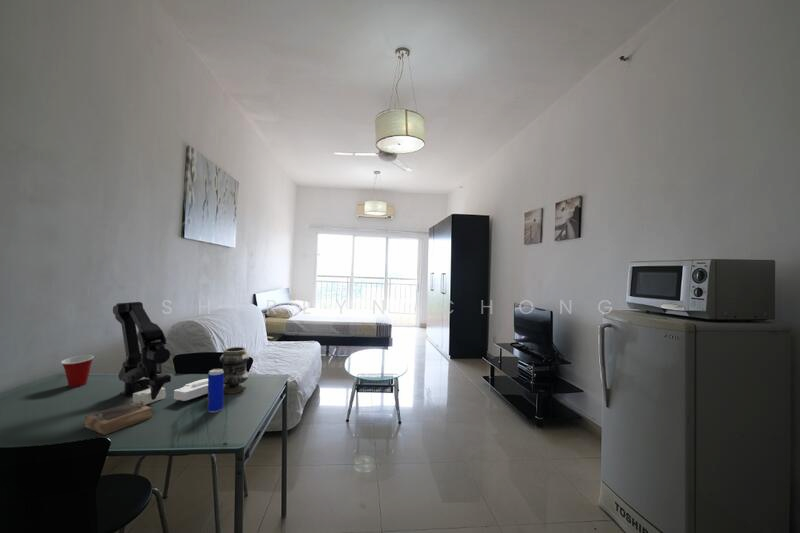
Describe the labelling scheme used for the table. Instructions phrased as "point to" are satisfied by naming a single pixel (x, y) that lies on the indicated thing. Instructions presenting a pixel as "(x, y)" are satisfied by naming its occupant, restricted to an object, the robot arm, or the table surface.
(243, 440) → the table surface
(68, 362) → the plastic cup
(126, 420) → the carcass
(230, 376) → the apothecary jar
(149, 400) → the white block
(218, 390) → the beverage can
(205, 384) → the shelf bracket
